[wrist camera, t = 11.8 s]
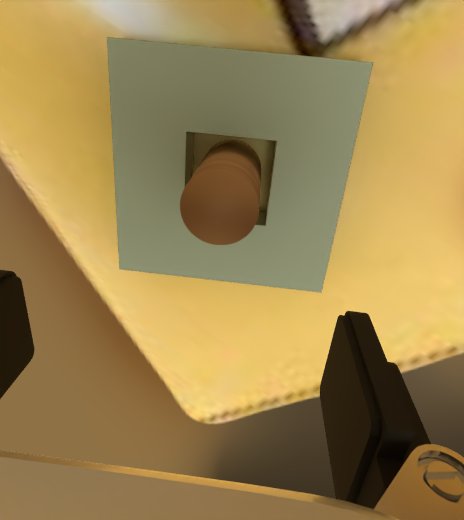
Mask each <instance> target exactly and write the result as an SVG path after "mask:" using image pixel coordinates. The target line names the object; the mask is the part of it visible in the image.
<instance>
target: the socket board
mask: <svg viewBox="0 0 464 520" xmlns="http://www.w3.org/2000/svg"><path fill="white" fill-rule="evenodd" d="M107 45H108V64H109V83H110V102H111V120H112V139H113V158H114V177H115V195H116V214H117V233H118V252H119V269H122V270H131V271H140V272H148V273H157V274H166V275H174V276H183V277H192V278H200V279H209V280H218V281H226V282H235V283H244V284H252V285H261V286H270V287H278V288H287V289H296V290H304V291H313V292H322V288H323V284H324V279H325V275H326V270H327V266H328V262H329V257H330V253H331V248H332V244H333V239H334V235H335V230H336V226H337V221H338V217H339V213H340V208H341V204H342V199H343V195H344V190H345V186H346V181H347V177H348V172H349V168H350V164H351V159H352V155H353V150H354V146H355V141H356V137H357V132H358V128H359V123H360V119H361V115H362V110H363V106H364V101H365V97H366V92H367V88H368V83H369V79H370V74H371V70H372V66H373V62H363V61H352V60H342V59H331V58H321V57H310V56H300V55H289V54H279V53H268V52H258V51H247V50H237V49H226V48H216V47H205V46H195V45H184V44H174V43H163V42H153V41H142V40H132V39H121V38H111V37H107ZM194 132H197V133H206V134H216V135H226V136H235V137H245V138H255V139H265V140H274V141H275V146H274V153H273V161H272V168H271V176H270V183H269V191H268V199H267V206H266V212H262V211H259V215H258V219H257V222H256V224H255V226H254V228H253V229H252V231H251V232H250V233H249V234H248V235H247V236H246V237H245V238H243V239H242V240H240V241H238V242H236V243H233V244H229V245H213V244H209V243H206V242H204V241H202V240H200V239H198V238H197V237H196V236H194V235H193V234H192V233H191V232H190V231H189V230H188V228H187V227H186V225H185V224H184V222H183V219H182V216H181V212H180V199H181V195H182V192H183V190H184V188H185V186H186V185H187V183H188V182H189V180H190V179H191V178H192V162H193V136H194Z"/></svg>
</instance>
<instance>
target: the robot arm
mask: <svg viewBox="0 0 464 520" xmlns="http://www.w3.org/2000/svg"><path fill="white" fill-rule="evenodd" d="M33 354H34V345H33V339H32V334H31V329H30V323H29V319H28V313H27V308H26V302H25V297H24V292H23V287H22V282H21V279H20V278H19V277H17V276H16V274H15V273H14V272H12V271H5V270H0V398H1V397H2V396H3V395H4V393H5V392H6V391H7V390H8V388H9V387H10V386H11V385H12V383H13V382H14V381H15V380H16V378H17V377H18V376H19V375H20V373H21V372H22V371H23V370H24V368H25V367H26V366H27V365H28V363H29V362H30V361H31V359H32V357H33ZM320 399H321V406H322V412H323V419H324V425H325V432H326V438H327V444H328V451H329V457H330V464H331V469H332V476H333V483H334V489H335V496H336V499H333V498H328V497H323V496H318V495H313V494H307V493H301V492H295V491H288V490H282V489H276V488H270V487H263V486H256V485H250V484H243V483H237V482H230V481H223V480H215V479H208V478H201V477H194V476H187V475H180V474H173V473H166V472H158V471H152V470H144V469H137V468H130V467H122V466H115V465H107V464H100V463H93V462H85V461H78V460H70V459H63V458H55V457H47V456H41V455H33V454H25V453H18V452H10V451H2V450H0V520H464V458H463V457H462V456H460V455H459V454H457V453H456V452H453V451H451V450H450V449H448V448H445V447H442V446H438V445H432V444H431V443H430V441H429V439H428V436H427V434H426V431H425V429H424V427H423V424H422V422H421V420H420V417H419V415H418V413H417V410H416V408H415V406H414V403H413V402H412V399H411V396H410V394H409V392H408V390H407V387H406V385H405V382H404V380H403V378H402V375H401V373H400V371H399V369H398V367H397V365H396V364H394V363H391V362H387V359H386V357H385V354H384V352H383V349H382V347H381V344H380V342H379V339H378V337H377V334H376V332H375V329H374V327H373V324H372V322H371V319H370V317H369V315H368V314H367V313H361V312H352V311H347V312H346V313H345V316H343V315H339V317H338V319H337V323H336V327H335V331H334V334H333V338H332V342H331V346H330V350H329V354H328V358H327V362H326V365H325V369H324V373H323V377H322V381H321V385H320Z"/></svg>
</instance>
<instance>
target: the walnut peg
mask: <svg viewBox="0 0 464 520" xmlns="http://www.w3.org/2000/svg"><path fill="white" fill-rule="evenodd" d="M260 182H261V164H260V160H259V157H258V155H257V154H256V152H255V151H254V150H253V149H252V148H251V147H250V146H249V145H247V144H245V143H243V142H240V141H236V140H227V141H223V142H220V143H218V144H217V145H215V146H214V147H213V148H212V149H211V150H210V151H209V152H208V154H207V155H206V157H205V158H204V160H203V161H202V163H201V164H200V166H199V167H198V169H197V170H196V172H195V173H194V175H193V176H192V178H191V179H190V180H189V182H188V183H187V185H186V186H185V188H184V190H183V192H182V195H181V199H180V212H181V216H182V219H183V222H184V224H185V225H186V227H187V228H188V230H189V231H190V232H191V233H192V234H193V235H194V236H196V237H197V238H198V239H200V240H202V241H204V242H206V243H209V244H213V245H229V244H233V243H236V242H238V241H240V240H242V239H243V238H245V237H246V236H247V235H248V234H249V233H250V232H251V231H252V229H253V228H254V226H255V224H256V222H257V219H258V215H259V200H260Z"/></svg>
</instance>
